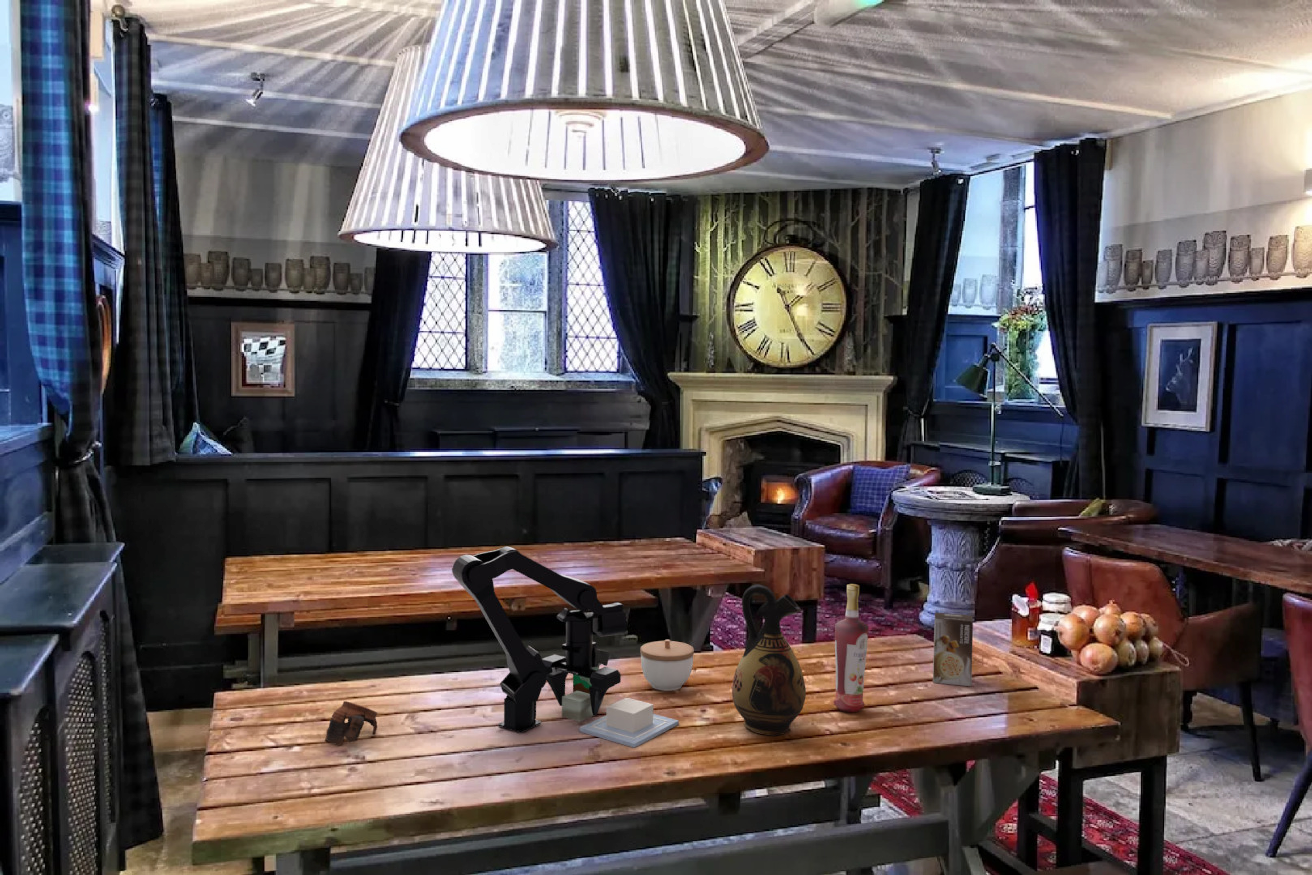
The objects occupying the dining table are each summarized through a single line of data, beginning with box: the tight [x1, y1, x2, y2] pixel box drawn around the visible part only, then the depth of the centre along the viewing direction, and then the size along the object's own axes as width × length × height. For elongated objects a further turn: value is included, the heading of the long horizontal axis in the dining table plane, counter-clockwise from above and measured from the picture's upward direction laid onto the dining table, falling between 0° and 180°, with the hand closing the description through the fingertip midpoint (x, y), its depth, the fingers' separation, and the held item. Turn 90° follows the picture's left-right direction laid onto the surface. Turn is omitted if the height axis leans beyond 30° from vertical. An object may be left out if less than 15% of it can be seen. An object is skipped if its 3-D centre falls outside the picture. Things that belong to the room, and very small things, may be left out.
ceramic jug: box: [731, 584, 807, 737], centre depth 209 cm, size 17×15×30 cm
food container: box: [572, 664, 602, 694], centre depth 226 cm, size 12×6×10 cm, turn 179°
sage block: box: [561, 691, 595, 722], centre depth 214 cm, size 5×5×4 cm
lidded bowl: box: [639, 639, 695, 692], centre depth 234 cm, size 13×13×11 cm
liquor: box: [833, 583, 869, 714], centre depth 220 cm, size 7×7×28 cm
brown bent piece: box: [325, 700, 378, 746], centre depth 199 cm, size 12×10×8 cm
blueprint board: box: [578, 697, 680, 748], centre depth 207 cm, size 16×14×5 cm
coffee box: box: [932, 612, 974, 687], centre depth 242 cm, size 9×6×16 cm
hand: (578, 710), depth 214 cm, fingers open, 9 cm apart
